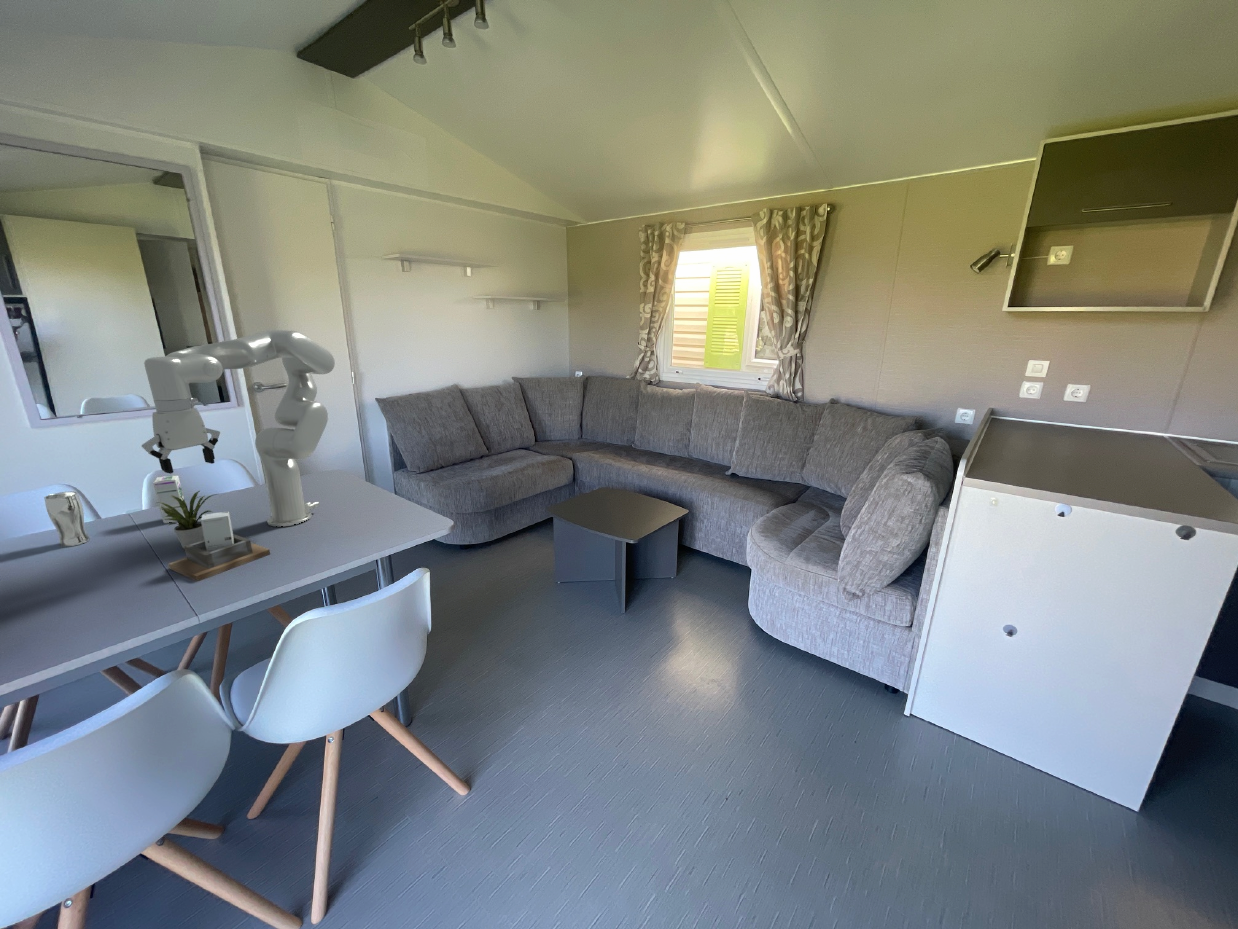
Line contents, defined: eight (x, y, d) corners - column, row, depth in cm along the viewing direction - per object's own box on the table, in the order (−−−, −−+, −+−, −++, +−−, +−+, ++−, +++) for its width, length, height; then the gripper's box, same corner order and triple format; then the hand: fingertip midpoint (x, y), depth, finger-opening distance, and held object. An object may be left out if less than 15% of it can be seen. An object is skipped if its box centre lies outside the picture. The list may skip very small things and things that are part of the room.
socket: (242, 543, 151) (238, 526, 149) (270, 554, 145) (267, 536, 143) (169, 568, 135) (165, 550, 134) (197, 581, 129) (193, 562, 128)
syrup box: (186, 520, 166) (176, 479, 162) (162, 524, 163) (152, 481, 159) (188, 514, 170) (179, 474, 166) (165, 518, 167) (155, 477, 163)
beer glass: (96, 540, 150) (83, 493, 146) (64, 549, 144) (49, 500, 140) (85, 535, 153) (71, 489, 149) (53, 544, 147) (38, 496, 142)
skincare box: (208, 561, 137) (198, 520, 133) (209, 554, 140) (200, 514, 137) (236, 556, 140) (227, 515, 137) (237, 549, 144) (229, 510, 140)
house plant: (225, 530, 160) (214, 481, 155) (232, 544, 150) (222, 493, 146) (165, 542, 150) (153, 491, 145) (169, 558, 141) (156, 504, 136)
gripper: (203, 398, 139) (216, 457, 144) (124, 409, 124) (143, 474, 129) (219, 401, 136) (233, 461, 142) (141, 412, 121) (159, 479, 127)
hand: (190, 467), depth 135 cm, fingers open, 9 cm apart
